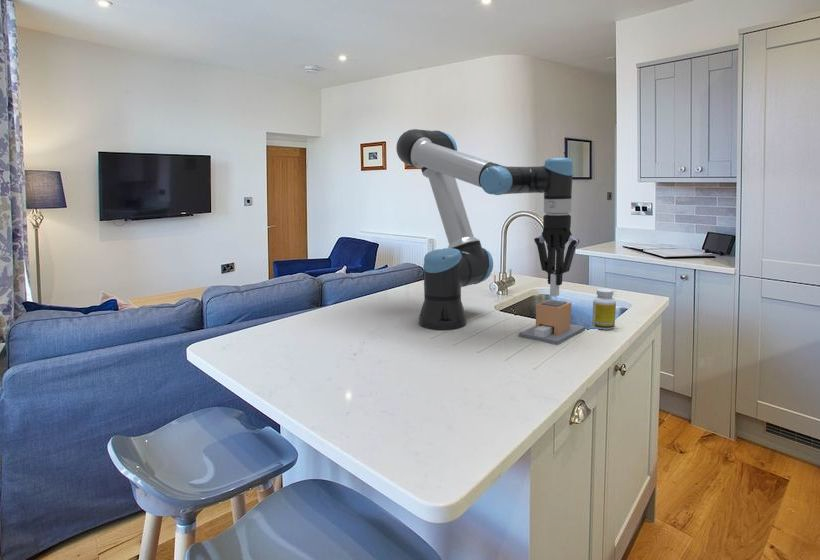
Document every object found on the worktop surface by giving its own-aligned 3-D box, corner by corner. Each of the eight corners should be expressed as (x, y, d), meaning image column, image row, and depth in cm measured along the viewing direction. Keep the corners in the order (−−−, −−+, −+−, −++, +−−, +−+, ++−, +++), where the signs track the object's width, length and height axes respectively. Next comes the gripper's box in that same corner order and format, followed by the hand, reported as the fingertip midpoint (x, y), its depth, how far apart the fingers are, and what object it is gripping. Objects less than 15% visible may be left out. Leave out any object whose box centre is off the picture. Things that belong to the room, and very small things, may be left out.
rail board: (519, 336, 146) (519, 326, 145) (548, 323, 159) (548, 313, 158) (557, 344, 138) (558, 334, 137) (585, 329, 151) (585, 320, 150)
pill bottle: (616, 330, 150) (618, 292, 147) (593, 330, 151) (595, 292, 149) (612, 324, 156) (614, 288, 154) (590, 324, 157) (592, 287, 155)
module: (535, 330, 147) (536, 303, 146) (548, 324, 153) (549, 298, 152) (557, 335, 143) (558, 307, 141) (570, 329, 149) (571, 301, 147)
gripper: (529, 214, 143) (528, 294, 148) (573, 215, 135) (570, 301, 139) (542, 212, 149) (540, 290, 153) (585, 213, 140) (581, 296, 145)
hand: (554, 295), depth 146 cm, fingers closed
